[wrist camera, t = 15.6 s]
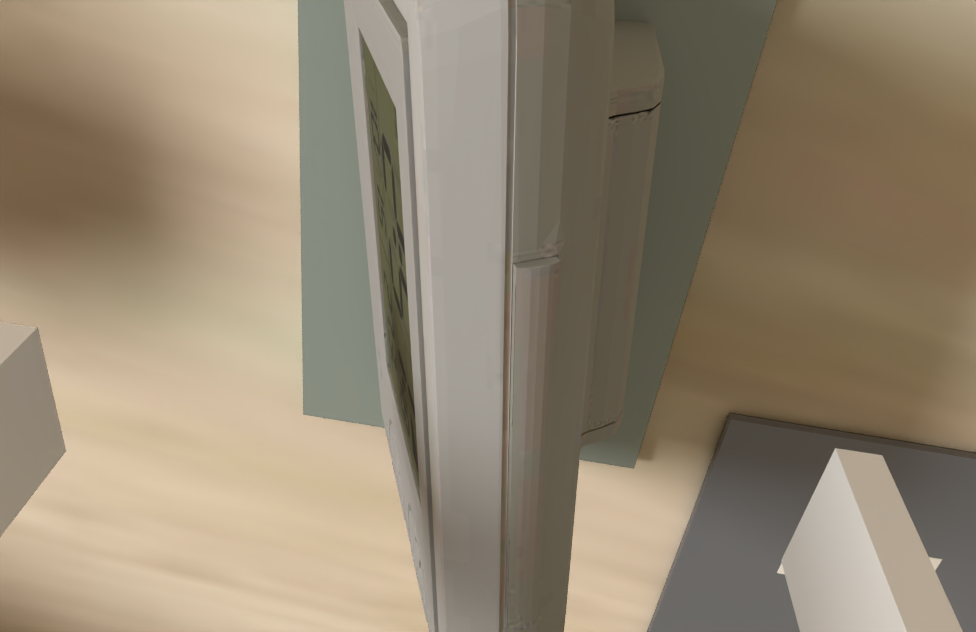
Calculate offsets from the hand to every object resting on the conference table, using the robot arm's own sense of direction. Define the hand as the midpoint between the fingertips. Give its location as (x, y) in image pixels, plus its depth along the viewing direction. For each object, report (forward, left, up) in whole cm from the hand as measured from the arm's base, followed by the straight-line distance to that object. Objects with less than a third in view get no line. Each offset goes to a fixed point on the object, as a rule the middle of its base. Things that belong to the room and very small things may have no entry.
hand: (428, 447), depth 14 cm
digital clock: (0, 0, -10) cm, 10 cm away
